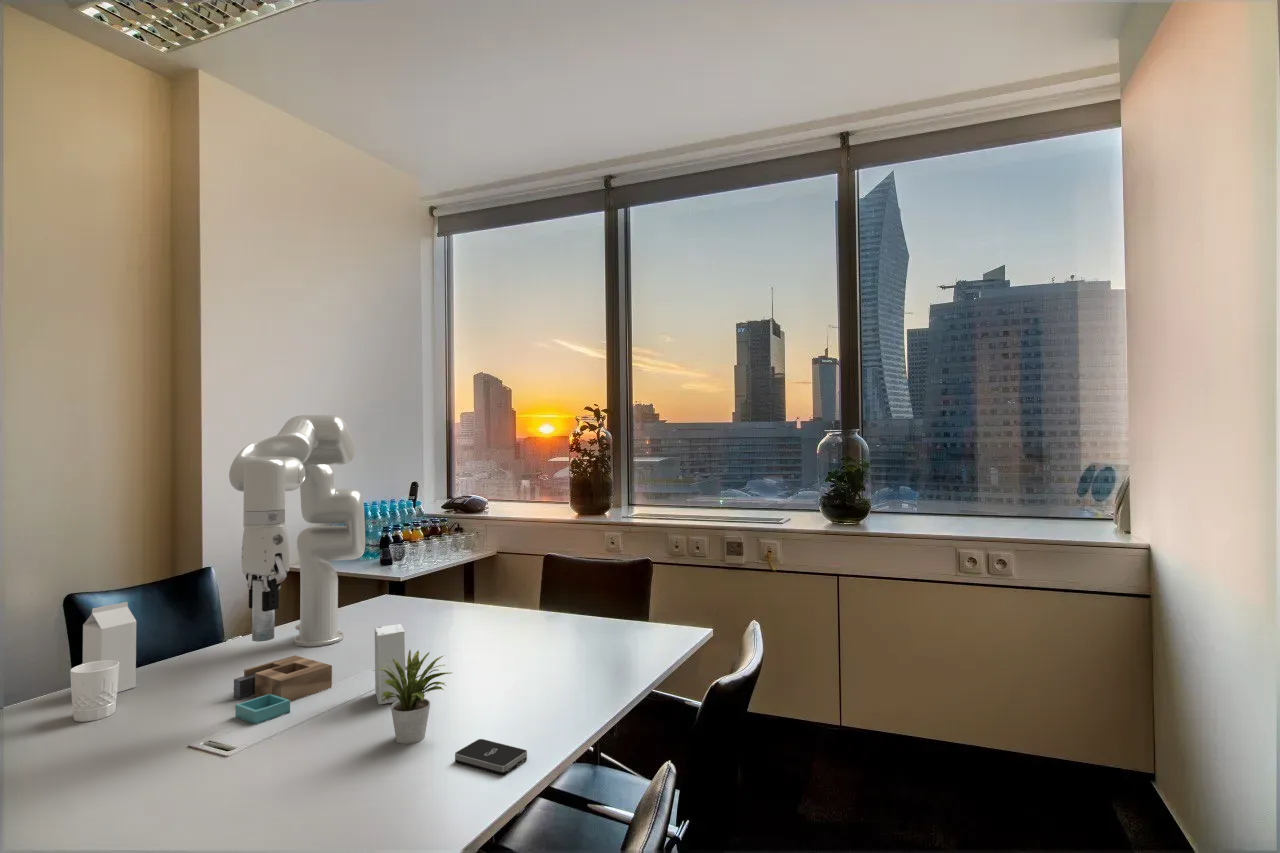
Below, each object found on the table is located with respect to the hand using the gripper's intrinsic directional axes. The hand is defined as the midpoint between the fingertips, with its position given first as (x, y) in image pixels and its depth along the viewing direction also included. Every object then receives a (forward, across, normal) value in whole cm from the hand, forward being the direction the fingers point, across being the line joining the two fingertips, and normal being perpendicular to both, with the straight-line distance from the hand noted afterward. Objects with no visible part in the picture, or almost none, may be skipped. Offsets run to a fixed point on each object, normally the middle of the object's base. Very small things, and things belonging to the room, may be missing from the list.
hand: (263, 607), depth 143 cm
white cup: (+22, +29, +18) cm, 41 cm away
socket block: (+22, +8, -11) cm, 26 cm away
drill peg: (+6, 0, 0) cm, 6 cm away
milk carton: (+22, +43, +10) cm, 49 cm away
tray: (+22, 0, 0) cm, 22 cm away
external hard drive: (+22, -54, -9) cm, 59 cm away
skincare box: (+22, -14, -20) cm, 33 cm away
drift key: (+22, +14, -6) cm, 26 cm away
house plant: (+22, -35, -7) cm, 42 cm away
